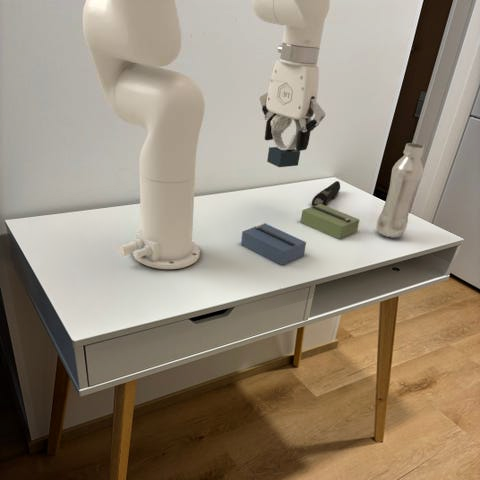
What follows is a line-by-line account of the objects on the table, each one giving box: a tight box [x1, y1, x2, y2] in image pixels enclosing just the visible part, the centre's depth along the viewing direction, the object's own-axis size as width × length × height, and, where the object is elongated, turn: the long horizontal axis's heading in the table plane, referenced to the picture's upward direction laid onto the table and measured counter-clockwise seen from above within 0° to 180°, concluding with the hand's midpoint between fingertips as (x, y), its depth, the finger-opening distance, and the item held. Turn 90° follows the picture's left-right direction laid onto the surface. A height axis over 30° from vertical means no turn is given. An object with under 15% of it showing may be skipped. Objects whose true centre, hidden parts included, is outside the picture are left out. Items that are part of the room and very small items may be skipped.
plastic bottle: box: [376, 142, 425, 239], centre depth 106 cm, size 6×7×20 cm
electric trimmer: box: [311, 180, 341, 207], centre depth 126 cm, size 4×16×3 cm, turn 152°
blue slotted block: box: [240, 223, 307, 266], centre depth 98 cm, size 7×11×4 cm, turn 46°
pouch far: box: [300, 204, 361, 240], centre depth 111 cm, size 7×11×4 cm, turn 46°
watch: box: [266, 114, 302, 168], centre depth 107 cm, size 6×8×11 cm
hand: (285, 144), depth 107 cm, fingers closed on watch, 8 cm apart
